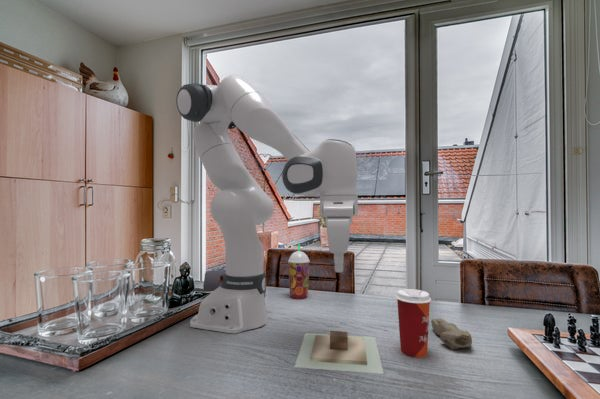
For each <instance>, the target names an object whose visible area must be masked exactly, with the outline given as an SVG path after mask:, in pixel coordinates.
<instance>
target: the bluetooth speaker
mask: <svg viewBox="0 0 600 399" xmlns="http://www.w3.org/2000/svg"><path fill="white" fill-rule="evenodd" d="M224 272H226V269H221V270H219V269H218V270H217V269H215V270H208V271H205V273H204V280H203V292H204V291H214V290H215V289H217V288H218V287H219V286H220V281H219V282H217V281H218V280H219V279H218V278H219V277H220V276H221V275H223V273H224ZM264 273H265V292H264V294H265V293H266V291H267V270H264Z"/></svg>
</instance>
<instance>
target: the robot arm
mask: <svg viewBox="0 0 600 399" xmlns="http://www.w3.org/2000/svg"><path fill="white" fill-rule="evenodd" d="M175 100H176V108H177V110H178V112H179V114H180V115H181V116H180V117H182V118H183V119H185V120H187V121H190V122H194V123H198V124H197V125H196V126H195V127H194V128H193V131H192V138H193V143H194V147H195V150H196V152H197V154H198V157H199V159H200V161H201V163H202V165H203V167H204V170H205V172H206V174H207V176H208V178H209V180H210V181H211V183H212V184H213V185H214V186H215V187H216V188H217V189H219V192H217V193H216V194H214V196H213V197H212V199H211V201H210V215H211V216H212V219H213V220H214V221H215V222H216V223H217V225H218V227H219V229H220V231H221V234H222V238H223V242H224V247H225V270H226V272H224V273H223V275H221V276H220V277H219V278H218V279H219V280H218V281H217V282H219V281H220V286H219V287H218V288H217V289H215V290H214V291H213V292H212V293H210V294H207V296H205V297H204V298H203V299H202V301H201V302H200V304H199V308H198V313H197V314H195V315H194V316H193V317H192V318H191V319H190V321H189V327H190V328H196V329H202V330H207V331H215V332H220V333H225V334H226V333H227V334H239V333H242V332H245V331H249V330H252V329H258V328H260V327H263V326H265V325H266V324H268V322H269V320H270V318H269V316H268V311H267V306H266V299H265V293H264V292H265V273H264V271H265V268H264V261H265V260H264V256H265V255H264V253H265V252H264V249H265V247H264V245H263V244H262V242H261V240H260V238H259V234H258V231H257V226H259V225H262V224H264V223H266V222H267V221H269V220H270V219H271V218H272V217H273V215H274V211H275V203H274V201H273V199H272V198H271V197H270V196H269V195H268V194H267V193H266V192H265V191H264V190H263V188H262V186H260V184H259V183H258V182H257V180H256V179H255V178H254V177H253V175H252V174H251V173H250V172H249V170H248V169H247V167H246V165H245V164H244V162H243V161H242V158H241V157H240V155H239V153H238V151H237V149H236V147H235V145H234V143H233V142H232V140H231V138H230V136H229V133H228V129H229V130H233V129H235V128H237V129H239V131H240V132H242V133H243V134H244V135H246V136H247V137H248V138H250V139H252V140H254V141H256V142H259V143H261V144H264V145H266V146H268V147H271V148H272V149H274V150H275V151H277V152H279V153H280V154H281V155H282V156H283V157H284V158H285V159H286V160H287V162H286V163H285V165H284V167H283V170H282V175H281V177H282V183H283V186H284V187H285V189H286V190H287V191H288V192H290V193H292V194H294V195H298V196H304V197H312V198H315V199H319V216H321V217H323V218H325V225H326V235H327V236H326V237H327V243H328V248H329V249H328V250H329V252H330V253H331V254H333V260H334V271H335V273H343V272H344V257H345V254H346V253H347V252H348V249H349V243H350V242H349V241H350V233H351V232H350V231H351V230H350V229H351V224H352V223H354V222H353V221H354V220H353V218H354V217H357V216H359V203H358V202H359V201H358V198H359V197H358V195H359V194H358V191H357V180H358V161H357V154H356V153H357V152H356V149H355V147H354V146H353V145H352V144H350V142H348V141H345V140H341V139H334V138H331V139H330V138H329V139H324V140H323V141H321V142H320V144H319V145H318V146H316V147H315V148H314V149H311V150H309V149H308V148H307V146H305V145H304V143H302V142H301V140H300V139H299V138H298V137H297V136H296V135H295V134H294V133H293V132H292V131H291V130H290V128H289V127H288V126H287V124H286V123H285V122H284V120H283V119H282V117H280V115H279V114H278V112H277V111H276V110H275V108H274V107H273V106H272V104H271V103H270V102H269V100H267V98H266V97H265V95H264V94H263V93H261V92H260V90H259V89H257V87H255V86H254V85H253V84H252V83H251V82H249V81H248V80H246V79H245V78H244V77H242V76H241V75H238V74H237V75H236V74H231V75H228V76H226V77H224V78H223V79H221V81H220V82H219V84H218V85H216V84H201V83H198V82H197V83H194V82H193V83H187V84H183V85H182V86H181V87H180V88H179V90H178V91H177V94H176V99H175Z"/></svg>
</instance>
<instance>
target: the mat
mask: <svg viewBox="0 0 600 399" xmlns="http://www.w3.org/2000/svg"><path fill="white" fill-rule="evenodd" d="M315 335H322V336H330V334H327V333H313V332H312V333H311V332H309V333H308V332H305V333H304V336H303V339H302V341H301V346H300V347H299V352H298V354H297V356H296V360H295V363H294V368H296V369H297V368H300V369H312V370H326V371H340V372H352V373H366V374H378V375H384V371H383V370H384V369H383V365H382V362H381V357H380V352H379V347H378V343H377V339H376V337H375V336H361V335H348V337H355V338H364V343H365V350H366V357H367V365H357V364H343V363H329V362H316V361H310V356H311V352H312V348H313V344H314V340H315Z"/></svg>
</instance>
